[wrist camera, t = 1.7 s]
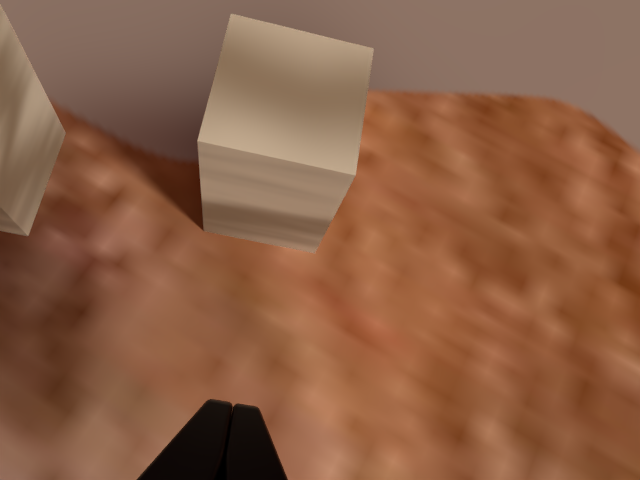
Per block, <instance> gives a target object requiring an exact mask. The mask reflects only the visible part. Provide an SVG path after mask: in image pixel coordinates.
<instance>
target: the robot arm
mask: <svg viewBox="0 0 640 480" xmlns="http://www.w3.org/2000/svg"><path fill="white" fill-rule="evenodd" d="M232 408H233V410H232ZM231 414H232V415H231ZM137 480H288V479H287V476H286V474H285V471H284V469H283V466H282V464H281V461H280V459H279V456H278V454H277V451H276V449H275V446H274V444H273V441H272V439H271V436H270V434H269V431H268V429H267V426H266V424H265V421H264V419H263V416H262V414H261V412H260V410H259V408H258V407H256V406H250V405H244V404H235V405H234V407H233V406H232V404H231V403H230V402H226V401H220V400H214V399H210V400H208V401H206V402H205V403H204V404H203V406H202V407H201V408H200V409H199V410H198V411H197V412H196V413H195V415H194V416H193V417H192V418H191V419H190V420H189V421H188V422H187V424H186V425H185V426H184V427H183V428H182V429H181V430H180V431H179V433H178V434H177V435H176V436H175V437H174V438H173V439H172V440H171V442H170V443H169V444H168V445H167V446H166V447H165V448H164V449H163V451H162V452H161V453H160V454H159V455H158V456H157V457H156V458H155V460H154V461H153V462H152V463H151V464H150V465H149V466H148V467H147V469H146V470H145V471H144V472H143V473H142V474H141V475H140V476H139V478H138V479H137Z"/></svg>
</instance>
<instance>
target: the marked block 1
mask: <svg viewBox="0 0 640 480" xmlns="http://www.w3.org/2000/svg"><path fill="white" fill-rule="evenodd" d="M65 134H66V133H65V131H64V129H63V127H62V125H61V123H60V121H59V119H58V117H57V115H56V113H55V111H54V109H53V107H52V105H51V103H50V101H49V99H48V97H47V95H46V93H45V91H44V89H43V87H42V85H41V83H40V81H39V79H38V77H37V75H36V73H35V71H34V69H33V67H32V65H31V63H30V61H29V59H28V57H27V56H26V53H25V51H24V49H23V48H22V46H21V44H20V41H19V39H18V37H17V36H16V34H15V32H14V29H13V28H12V26H11V24H10V22H9V20H8V18H7V16H6V14H5V12H4V10H3V8H2V6H1V4H0V231H4V232H9V233H14V234H19V235H24V236H28V235H29V233H30V230H31V227H32V224H33V222H34V219H35V216H36V213H37V211H38V208H39V205H40V202H41V200H42V197H43V194H44V191H45V189H46V186H47V183H48V180H49V178H50V175H51V172H52V169H53V167H54V164H55V161H56V158H57V156H58V153H59V150H60V148H61V145H62V142H63V139H64V137H65Z"/></svg>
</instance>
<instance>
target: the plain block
mask: <svg viewBox="0 0 640 480" xmlns="http://www.w3.org/2000/svg"><path fill="white" fill-rule="evenodd" d="M372 57H373V48H369V47H365V46H361V45H357V44H353V43H349V42H345V41H340V40H337V39H332V38H329V37H325V36H320V35H316V34H312V33H308V32H304V31H300V30H295V29H292V28H288V27H284V26H280V25H275V24H271V23H267V22H263V21H259V20H255V19H251V18H247V17H242V16H239V15H235V14H231V16H230V20H229V24H228V27H227V31H226V35H225V38H224V42H223V46H222V50H221V54H220V57H219V61H218V65H217V69H216V73H215V76H214V80H213V84H212V88H211V91H210V95H209V99H208V103H207V107H206V110H205V114H204V118H203V122H202V125H201V129H200V133H199V137H198V141H197V142H198V156H199V171H200V185H201V199H202V213H203V227H204V231H206V232H211V233H216V234H221V235H226V236H231V237H236V238H241V239H246V240H251V241H256V242H261V243H266V244H271V245H276V246H281V247H286V248H291V249H296V250H301V251H306V252H311V253H315V252H316V250H317V248H318V246H319V244H320V242H321V240H322V238H323V236H324V235H325V233H326V231H327V229H328V227H329V225H330V223H331V221H332V219H333V217H334V216H335V214H336V212H337V210H338V208H339V206H340V204H341V202H342V200H343V198H344V196H345V195H346V193H347V191H348V189H349V187H350V185H351V183H352V181H353V179H354V177H355V175H356V169H357V162H358V155H359V148H360V141H361V134H362V127H363V120H364V113H365V106H366V99H367V92H368V85H369V77H370V71H371V64H372Z"/></svg>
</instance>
